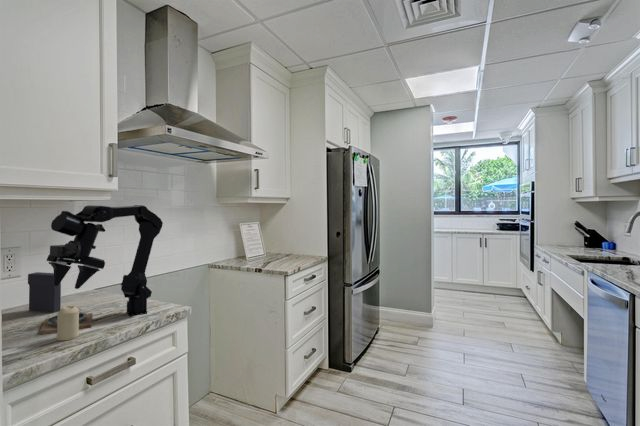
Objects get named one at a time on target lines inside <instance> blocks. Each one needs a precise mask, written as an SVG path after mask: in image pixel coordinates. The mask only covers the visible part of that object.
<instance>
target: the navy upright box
mask: <svg viewBox="0 0 640 426" xmlns="http://www.w3.org/2000/svg"><path fill="white" fill-rule="evenodd" d="M27 284H28V285H29V286H28V289H29V290H28V291H29V292H28V293H29V294H28V295H29V296H28V311H29V312H38V313H39V312H40V313H52V314H53V313H58V312H59V311H60V310H61V309H62V305H61V303H62V300H61V299H62V298H61V295H62V281H61V282H60V284H59V285H58V286H54V272H38V271H35V272H33V273H28V275H27Z"/></svg>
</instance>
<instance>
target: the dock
mask: <svg viewBox="0 0 640 426" xmlns="http://www.w3.org/2000/svg"><path fill="white" fill-rule="evenodd" d="M93 313H94V312H90V313H87V312H84V311H83V312H82V311H81V312H80V311H79V330H80V329H87V328H92V324H93V323H92V322H93V316H94V315H93ZM38 333H39V335H45V334H46V335H47V334H51V333H53V334H54V333H57V315H54V316H51V317H49V318H48V317H47V318H45V320H44V321H43V323H42V326H41V328H40V330H39V332H38Z"/></svg>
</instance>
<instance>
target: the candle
mask: <svg viewBox="0 0 640 426" xmlns="http://www.w3.org/2000/svg"><path fill="white" fill-rule="evenodd" d="M79 312H80V310H79V308H77V307H76V306H74V305H66V306H65V307H61V308H60V311H57V315H56V316H57V332H56V338H57V341H70V340H74V339H77V338H78V337H79V335H80V334H79V332H80V331H79V330H80V329H79Z"/></svg>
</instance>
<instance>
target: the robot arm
mask: <svg viewBox="0 0 640 426" xmlns="http://www.w3.org/2000/svg"><path fill="white" fill-rule="evenodd" d="M123 217H134V220H135V222H136V223H137V224H138V232H139V235H140V237H139V238H140V239H139V240H138V241H139V242H138V246H137V248H136V252H135V253H136V254H135V256H134V260H133V263H132V267H131V270H130V272H129V273H128V274H124V275H123V276H122V280H121V283H120V286H121V288H120V289H121V291H122V293H123V296H124V298H128V300H127V301H126V313H127V315H128V316H136V315H143V314H148V310H147V309H148V307H147V304H148V303H147V301H148V299H149V298H150V297H152V292H153V291H152V290H151V289H150V288H149V287H148V286H147V284H148V283H147V282H148V280H147V277H146V270H147V267H148V266H147V265H148V262H149V259H150V255H151V252H152V251H151V250H152V248H153V244H154V240H155V238H156V237H158V235H159V234H160V232H161V230H162V227H163V226H164V225H163V224H164V223H163V221H162V219H161V218H160V217H159V216H158V215H157V214H156V213H154V212H153V211H151V210H150V209H148V208H147V206H146V205H142V204H141V205H140V204H134V205H127V206H108V205H107V206H106V205H94V204H93V205H85V206H84V207H83V208H82V210H81V211H79V212H78V213H76V214H73V213H72V212H70V211H69V210H67V211H66V210H62V211H61V213H60V214H58V215H57V216H55V218H54V219H52V221H51V224H50V228H51V230H52V231H54V232H56V233H57V232H58V233H60V234H64V235H67V236H70V237H74V239H73V240H69V241H68V243H65V244H58V245H56V244H55V245H49V254H48V256H47V258H46V259H45V260H46V262H48V264H49V265H50V266H51V268H52V269H53V273H54V286H58V285H59V284H60V282H61V283H62V281H63V279H64V278H65V277H66V276H67V274H68V272H69V271H70V269H71V268H72V266H71V265H72V264H77V268H78V274H77V278H76V281H75V285H74V290H75V289H76V290H79V289H80V288H81V287H82V286H83V285H84V284H85V283H86V282H87V281H88V280H89V279H90V278H92V276H94V275H95V274H96V273H97V272H100V271H101V270H103V269H104V268H105V265H106V262H105V259H101V258H98V257H95V256H90V255H91V252H92V250H96V248H97V245H95V242H96V239H97V237H98V235H99V232H102V233H105V232H106V229H105V227H104V226H103V224H101V223H104V222H108V221H112V219H114V218H123ZM95 223H97V224H95Z"/></svg>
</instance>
